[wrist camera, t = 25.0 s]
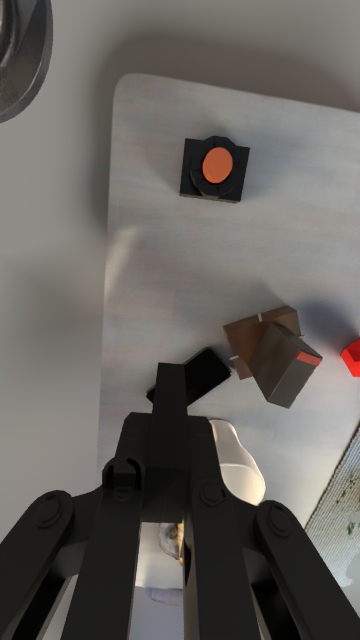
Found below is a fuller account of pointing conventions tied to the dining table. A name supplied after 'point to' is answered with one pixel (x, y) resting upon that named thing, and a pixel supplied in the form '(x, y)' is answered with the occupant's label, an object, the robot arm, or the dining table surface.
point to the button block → (195, 179)
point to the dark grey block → (282, 365)
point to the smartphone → (201, 375)
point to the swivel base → (256, 335)
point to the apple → (352, 358)
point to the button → (217, 165)
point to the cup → (237, 464)
